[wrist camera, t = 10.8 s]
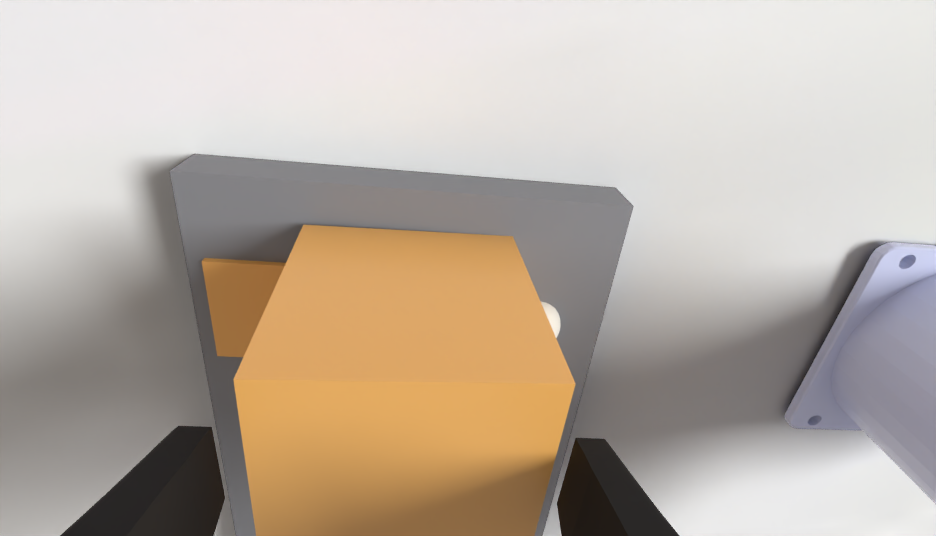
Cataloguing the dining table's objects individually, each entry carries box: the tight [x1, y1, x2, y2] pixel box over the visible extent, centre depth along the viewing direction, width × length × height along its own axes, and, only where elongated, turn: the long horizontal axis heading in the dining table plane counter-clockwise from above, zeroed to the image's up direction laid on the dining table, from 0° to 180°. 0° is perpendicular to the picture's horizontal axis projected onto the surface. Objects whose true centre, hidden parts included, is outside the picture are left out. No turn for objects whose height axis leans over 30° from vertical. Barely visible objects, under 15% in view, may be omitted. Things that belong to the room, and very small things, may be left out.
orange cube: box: [233, 225, 575, 536], centre depth 12 cm, size 6×6×6 cm
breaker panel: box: [170, 154, 633, 536], centre depth 18 cm, size 12×20×2 cm, turn 174°
